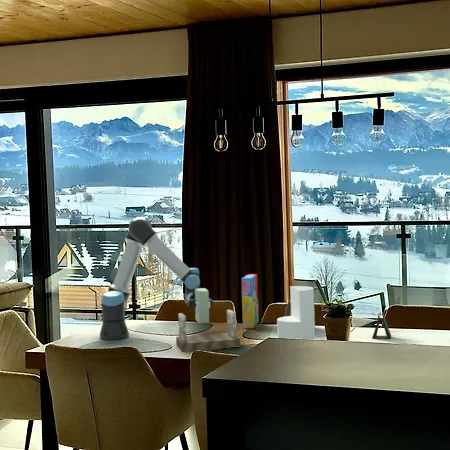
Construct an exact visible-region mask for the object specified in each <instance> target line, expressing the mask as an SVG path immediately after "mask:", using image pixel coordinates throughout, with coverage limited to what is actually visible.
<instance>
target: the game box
mask: <svg viewBox="0 0 450 450" xmlns="http://www.w3.org/2000/svg"><path fill="white" fill-rule="evenodd" d="M241 305H242V307H241V308H242V328H243V329H254V328H255V326H257V324H258V323H259V322H260V321H259V318H260V317H259V288H258V274H256V273H255V274H254V273H248V274H246V275H244V277H242V278H241Z"/></svg>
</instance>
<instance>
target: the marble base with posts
mask: <svg viewBox="0 0 450 450" xmlns="http://www.w3.org/2000/svg"><path fill="white" fill-rule="evenodd" d="M177 314H178V336H176V337H175V339H176V341H175V343H176V346H177V348H178V349H179V350H180V352H181V353H189V352H195V351H194V350H203V351H214V350H222V349H221V348H227V349H231V348H230V347H237V346H241V338H240V337H238V336H237V321H236V320H237V319H236V312H235V311H233V310H232V309H227V310H226V322H227V325H226V327H227V332H220V333H218V332H217V333H207V334H206V333H205V334H204V333H203V334H193V335H187V317H186V315H185V314H184V313H183V312H180V313H177Z"/></svg>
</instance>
